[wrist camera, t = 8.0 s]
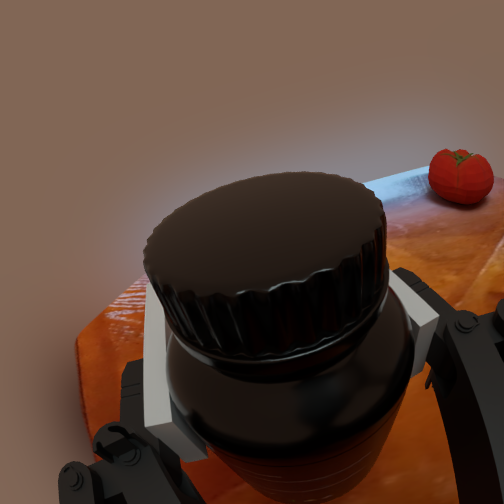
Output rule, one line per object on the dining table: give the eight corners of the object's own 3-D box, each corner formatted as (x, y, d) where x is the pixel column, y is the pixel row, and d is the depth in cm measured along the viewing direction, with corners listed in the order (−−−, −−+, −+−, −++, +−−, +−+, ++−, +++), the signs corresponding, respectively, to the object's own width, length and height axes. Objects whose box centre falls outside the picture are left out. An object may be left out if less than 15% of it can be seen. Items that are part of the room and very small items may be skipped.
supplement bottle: (240, 397, 15) (154, 186, 9) (364, 378, 14) (368, 146, 8) (235, 512, 9) (31, 354, 3) (390, 493, 9) (528, 279, 2)
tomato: (499, 198, 48) (502, 154, 43) (471, 221, 43) (475, 169, 38) (450, 179, 59) (450, 140, 54) (413, 198, 55) (413, 151, 50)
